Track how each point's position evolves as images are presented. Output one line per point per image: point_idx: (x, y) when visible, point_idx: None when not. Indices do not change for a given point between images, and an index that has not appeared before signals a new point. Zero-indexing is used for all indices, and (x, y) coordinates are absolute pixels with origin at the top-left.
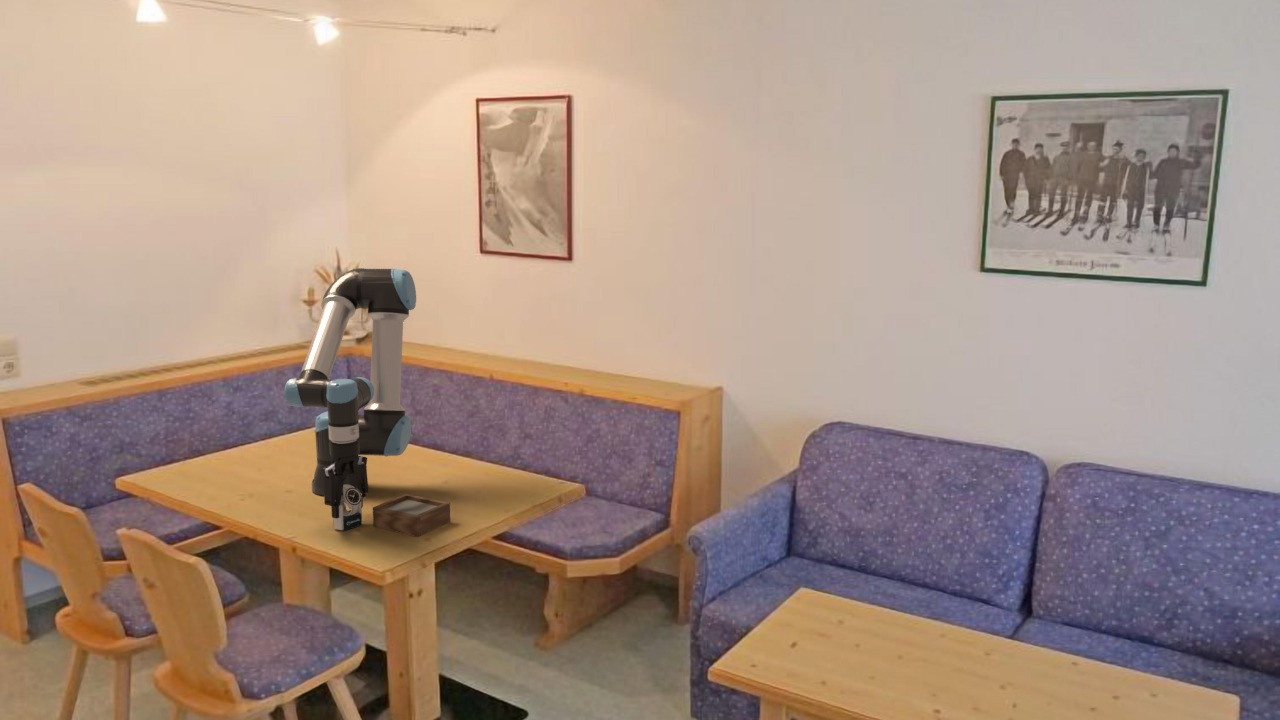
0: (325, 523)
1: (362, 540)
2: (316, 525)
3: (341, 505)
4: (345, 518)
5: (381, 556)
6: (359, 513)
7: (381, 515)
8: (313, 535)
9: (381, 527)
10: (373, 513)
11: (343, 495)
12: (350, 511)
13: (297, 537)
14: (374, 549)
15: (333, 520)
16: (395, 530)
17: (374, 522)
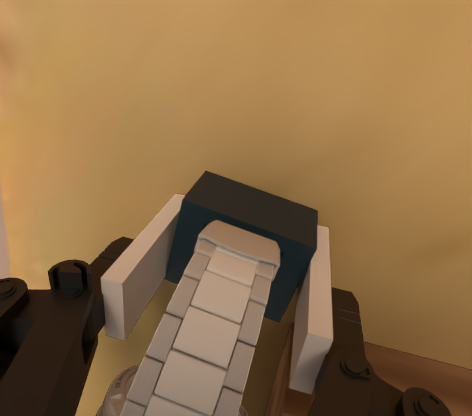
0: (242, 82)
1: (146, 336)
2: (191, 49)
3: (120, 335)
4: (178, 281)
5: (85, 410)
6: (277, 314)
7: (274, 413)
8: (77, 136)
9: (281, 358)
10: (285, 381)
11: (102, 410)
12: (288, 259)
13: (13, 74)
14: (109, 385)
15: (194, 185)
16: (267, 405)
17: (287, 344)
